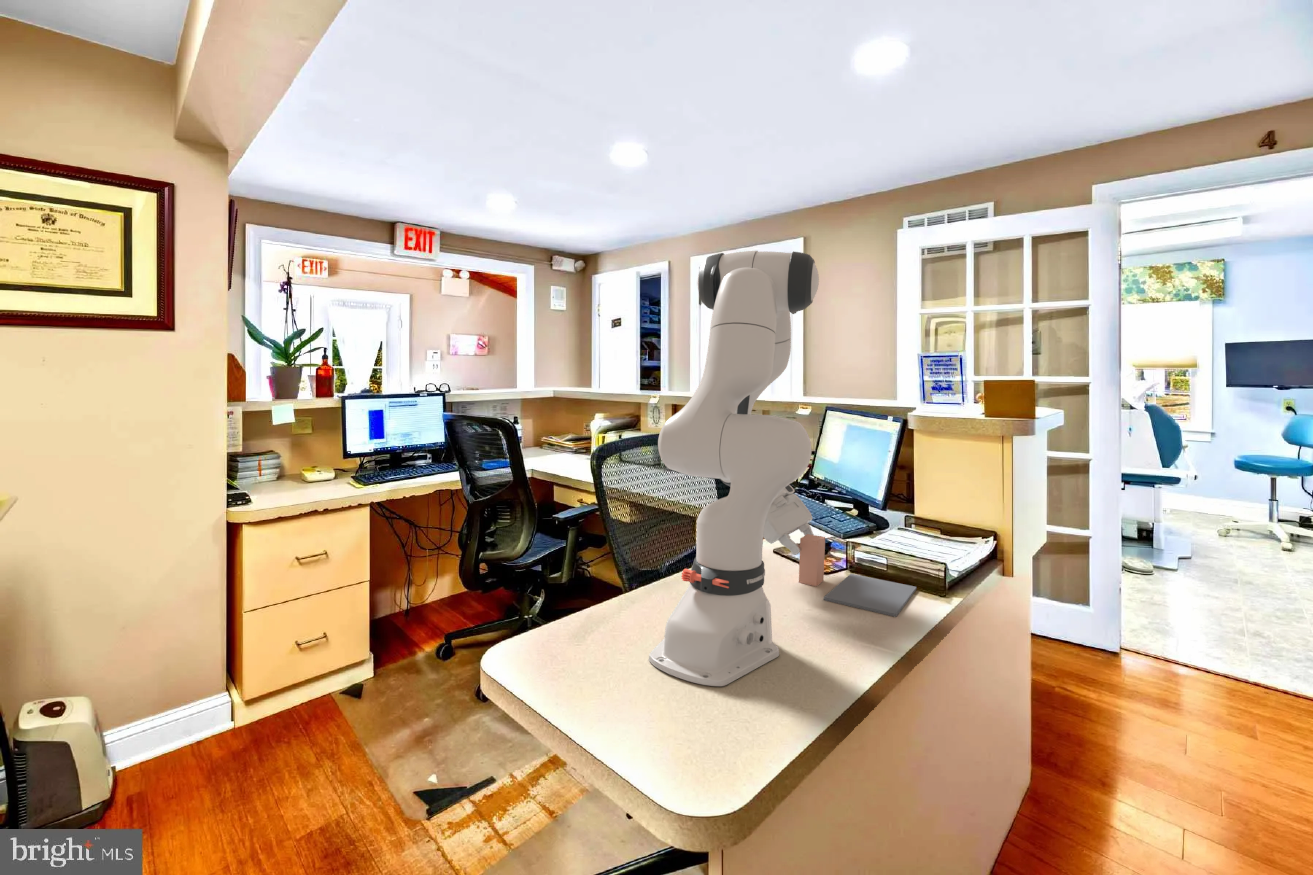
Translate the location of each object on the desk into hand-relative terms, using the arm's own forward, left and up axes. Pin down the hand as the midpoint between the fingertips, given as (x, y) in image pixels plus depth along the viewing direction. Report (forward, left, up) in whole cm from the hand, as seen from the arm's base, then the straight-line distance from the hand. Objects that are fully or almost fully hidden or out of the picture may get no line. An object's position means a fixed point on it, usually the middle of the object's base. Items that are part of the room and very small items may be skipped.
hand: (806, 547), depth 127 cm
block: (0, -1, -7) cm, 8 cm away
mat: (0, -14, -7) cm, 16 cm away
